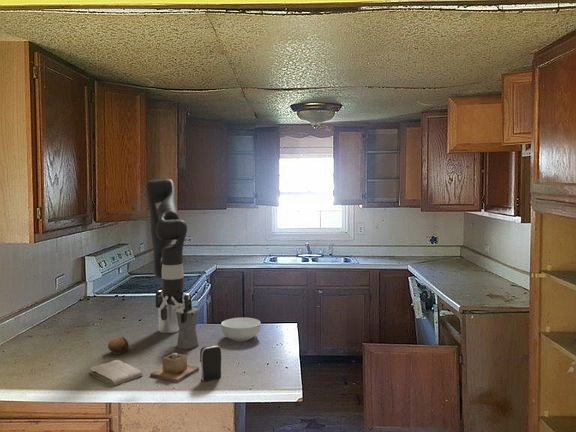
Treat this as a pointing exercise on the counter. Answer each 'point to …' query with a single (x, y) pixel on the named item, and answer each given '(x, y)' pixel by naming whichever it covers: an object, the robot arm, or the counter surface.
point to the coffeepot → (187, 330)
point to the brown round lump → (118, 345)
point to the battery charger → (210, 362)
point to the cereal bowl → (240, 328)
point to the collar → (174, 364)
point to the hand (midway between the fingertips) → (173, 321)
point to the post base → (173, 377)
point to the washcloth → (115, 372)
